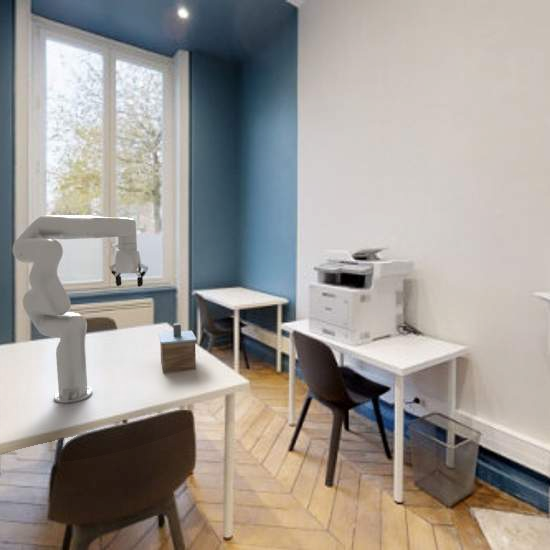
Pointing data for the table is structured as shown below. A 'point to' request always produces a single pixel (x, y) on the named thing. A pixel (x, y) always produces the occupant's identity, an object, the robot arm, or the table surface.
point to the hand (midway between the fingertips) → (129, 285)
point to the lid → (177, 335)
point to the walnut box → (178, 356)
